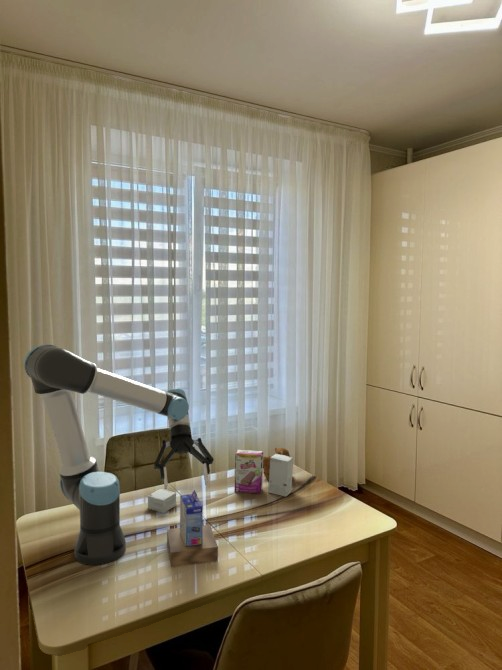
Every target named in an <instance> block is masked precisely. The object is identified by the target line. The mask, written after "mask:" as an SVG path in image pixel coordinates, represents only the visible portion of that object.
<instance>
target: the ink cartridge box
mask: <svg viewBox="0 0 502 670" xmlns="http://www.w3.org/2000/svg"><path fill="white" fill-rule="evenodd" d="M179 497H180V500H179V501H180V503H179V505H180V506H179V508H180V509H179V528H180V532H181V535H182V538H183V540H184V543H185V545H186V546H193V545H201V544H203V516H204V515H203V513H204V512H203V509H204V507H203V504H202V503H201V500H200V499H199V497H198V493H197V492H196V490H193V492H192V493H188V494H183V495H180V496H179Z"/></svg>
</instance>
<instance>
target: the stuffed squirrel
mask: <svg viewBox="0 0 502 670" xmlns="http://www.w3.org/2000/svg"><path fill="white" fill-rule="evenodd" d="M274 451H275V454H279V455H285V456H288V457H291V455H290V451H289V450H288V449H287V448H283V447H275V448H274ZM272 456H273V455H272ZM272 456H271V455H269V456H263V476H264V478H265V479H267V480H268V481H269V472H270V457H272ZM293 481H295V477H294V476H293V475H292V482H293Z"/></svg>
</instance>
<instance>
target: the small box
mask: <svg viewBox="0 0 502 670" xmlns="http://www.w3.org/2000/svg"><path fill="white" fill-rule="evenodd" d="M176 506H177V492H173V491H170V490H168V489H163V488H159V489H158V490H156V491H154V492H152V493H150V494H148V495H147V509H148V510H151V509H152V511H155V510H156V511H155V512H158V513H162V514H165V513H166V512H168V511H169V510H171V509H172V508H174V507H176Z"/></svg>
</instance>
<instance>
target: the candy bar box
mask: <svg viewBox="0 0 502 670" xmlns="http://www.w3.org/2000/svg"><path fill="white" fill-rule="evenodd" d="M234 455H235V457H234V459H235V460H234V463H235V464H234V492H235V493H245V494H246V493H248V494H260V495H261V494H262V491H263V476H264V469H263V457H264V451H262V450H249V449H244V450H243V449H236V451H235V454H234Z"/></svg>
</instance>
